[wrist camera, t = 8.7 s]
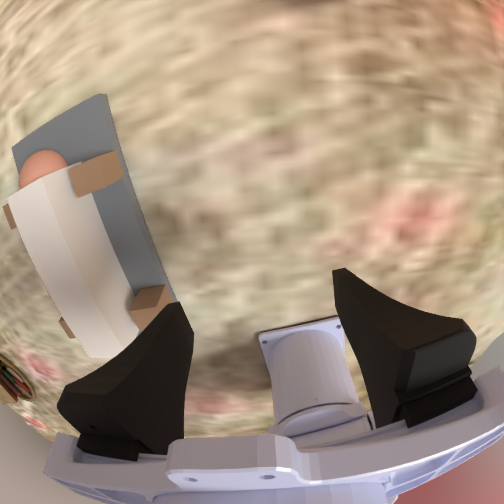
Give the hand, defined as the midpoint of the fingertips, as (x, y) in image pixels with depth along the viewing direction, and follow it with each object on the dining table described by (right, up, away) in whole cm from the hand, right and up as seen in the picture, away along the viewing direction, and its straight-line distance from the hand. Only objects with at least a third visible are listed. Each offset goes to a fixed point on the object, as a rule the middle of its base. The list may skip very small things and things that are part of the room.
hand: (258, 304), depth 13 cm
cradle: (-13, +3, +9) cm, 16 cm away
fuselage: (-13, +3, +7) cm, 16 cm away
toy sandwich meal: (-43, -19, +20) cm, 51 cm away
